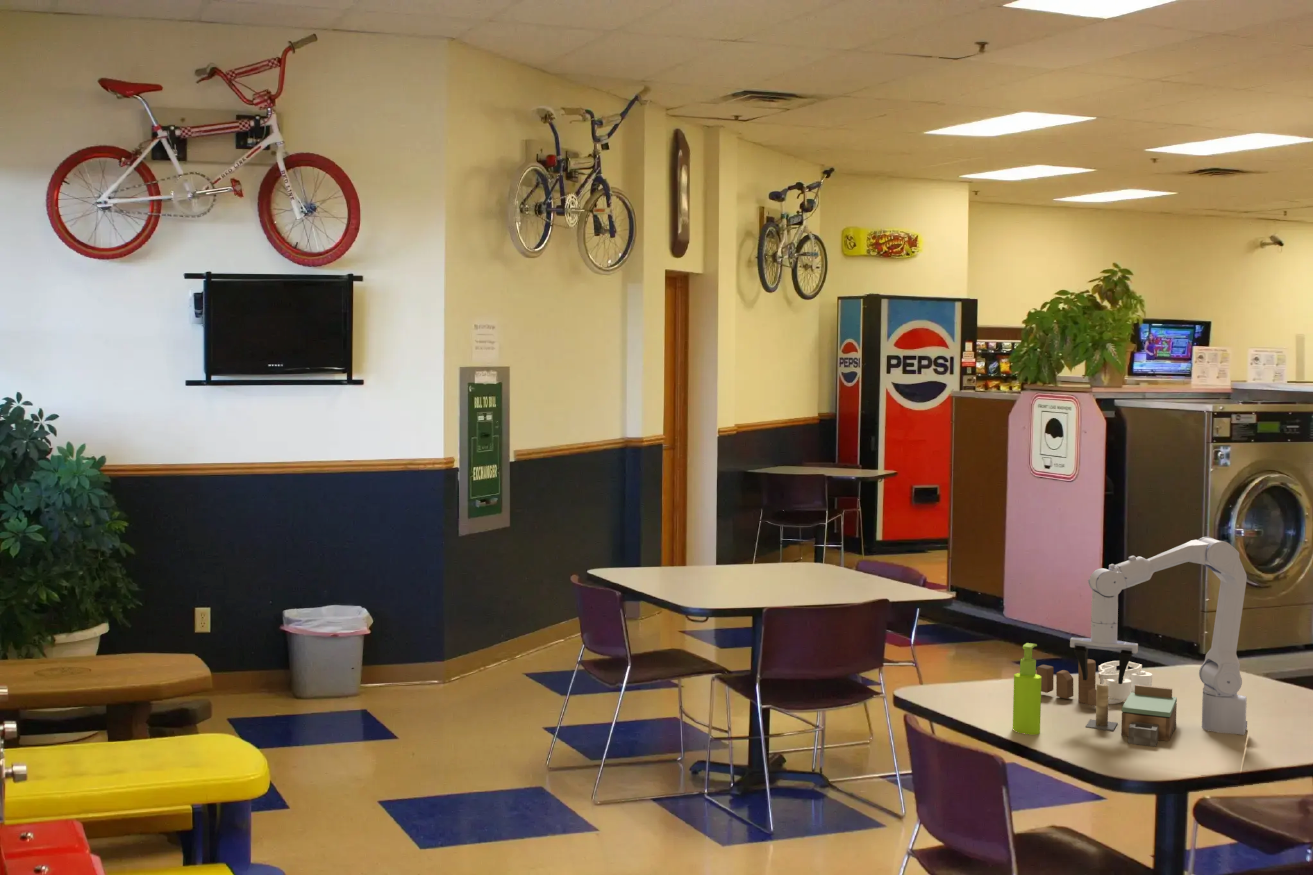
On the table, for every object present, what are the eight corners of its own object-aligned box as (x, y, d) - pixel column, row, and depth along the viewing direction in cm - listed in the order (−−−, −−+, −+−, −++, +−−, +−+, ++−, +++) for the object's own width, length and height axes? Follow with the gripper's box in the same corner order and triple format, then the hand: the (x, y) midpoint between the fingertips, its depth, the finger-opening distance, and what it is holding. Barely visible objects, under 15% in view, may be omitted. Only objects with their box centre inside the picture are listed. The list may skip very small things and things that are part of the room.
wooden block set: (1032, 698, 327) (1032, 658, 326) (1051, 690, 333) (1051, 651, 332) (1099, 714, 314) (1099, 672, 313) (1117, 705, 320) (1117, 664, 318)
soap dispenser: (1044, 731, 296) (1046, 643, 295) (1036, 738, 290) (1038, 648, 289) (1017, 727, 299) (1020, 640, 298) (1009, 734, 293) (1011, 645, 292)
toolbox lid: (1176, 701, 303) (1177, 688, 303) (1169, 717, 289) (1170, 703, 289) (1130, 696, 308) (1131, 683, 307) (1121, 711, 293) (1122, 698, 293)
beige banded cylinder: (1109, 724, 301) (1110, 685, 301) (1103, 726, 299) (1104, 686, 299) (1099, 722, 303) (1100, 683, 303) (1093, 724, 301) (1094, 684, 301)
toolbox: (1176, 724, 303) (1176, 702, 303) (1166, 747, 284) (1167, 724, 283) (1130, 718, 308) (1130, 697, 308) (1117, 741, 288) (1118, 719, 288)
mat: (1117, 724, 303) (1117, 722, 303) (1113, 731, 297) (1113, 729, 297) (1090, 721, 306) (1090, 719, 305) (1085, 727, 299) (1085, 726, 299)
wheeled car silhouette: (1120, 707, 319) (1121, 677, 319) (1078, 699, 327) (1079, 670, 327) (1159, 695, 333) (1159, 666, 332) (1117, 687, 341) (1118, 659, 340)
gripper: (1140, 621, 300) (1138, 681, 301) (1074, 616, 307) (1072, 674, 307) (1136, 627, 294) (1134, 687, 295) (1069, 621, 300) (1067, 680, 301)
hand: (1102, 681), depth 301 cm, fingers open, 7 cm apart
